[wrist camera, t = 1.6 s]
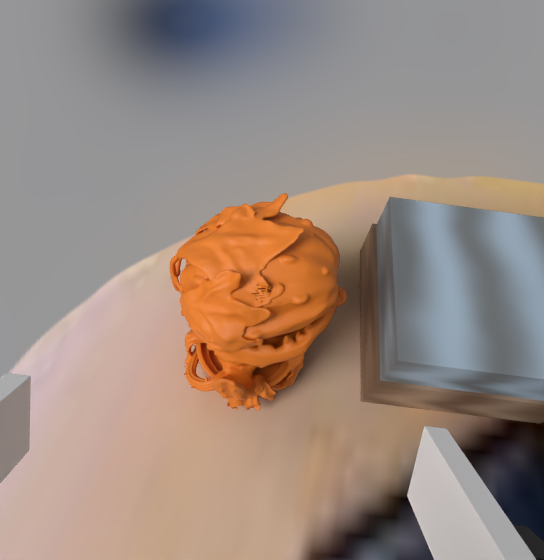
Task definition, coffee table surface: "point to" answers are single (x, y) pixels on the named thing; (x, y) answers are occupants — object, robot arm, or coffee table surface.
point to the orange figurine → (255, 299)
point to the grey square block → (453, 311)
